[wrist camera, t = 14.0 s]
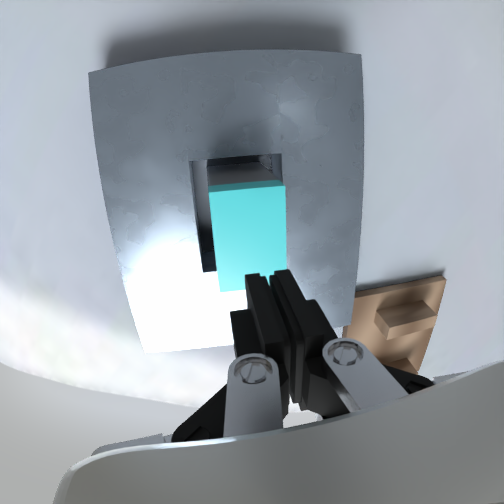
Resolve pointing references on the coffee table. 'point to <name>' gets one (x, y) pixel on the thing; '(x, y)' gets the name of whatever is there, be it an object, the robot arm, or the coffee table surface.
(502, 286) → the coffee table surface
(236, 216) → the plug
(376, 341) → the brown holder base
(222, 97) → the port
